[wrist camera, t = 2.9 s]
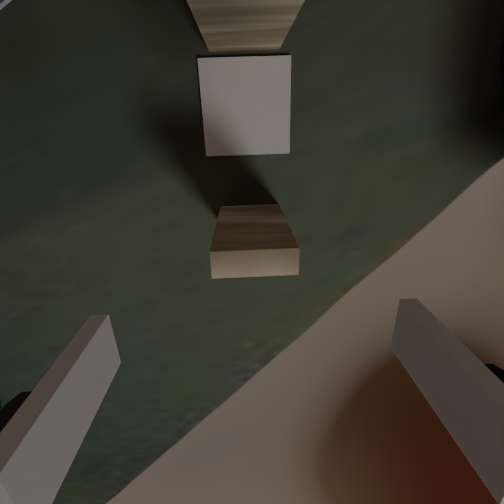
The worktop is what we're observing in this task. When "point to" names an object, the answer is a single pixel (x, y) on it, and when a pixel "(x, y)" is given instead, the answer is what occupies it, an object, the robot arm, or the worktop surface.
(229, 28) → the domino
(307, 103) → the worktop surface
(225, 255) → the domino
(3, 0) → the hard drive
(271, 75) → the end pad
